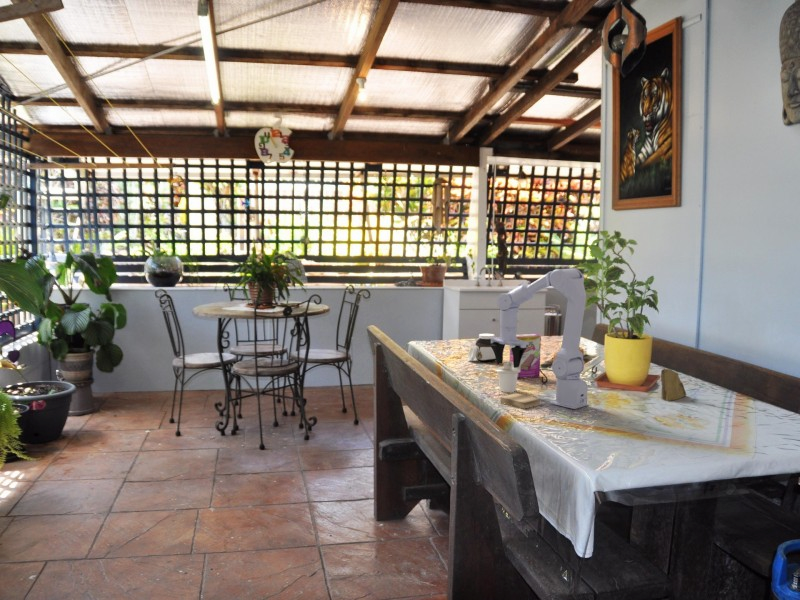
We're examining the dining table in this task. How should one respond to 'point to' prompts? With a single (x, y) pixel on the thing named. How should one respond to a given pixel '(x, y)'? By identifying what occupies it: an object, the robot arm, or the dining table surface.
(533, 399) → the trivet
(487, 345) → the spread jar
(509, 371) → the lid
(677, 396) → the rock
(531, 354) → the candy bar box
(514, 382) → the white cup
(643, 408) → the dining table surface
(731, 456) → the dining table surface
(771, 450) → the dining table surface
